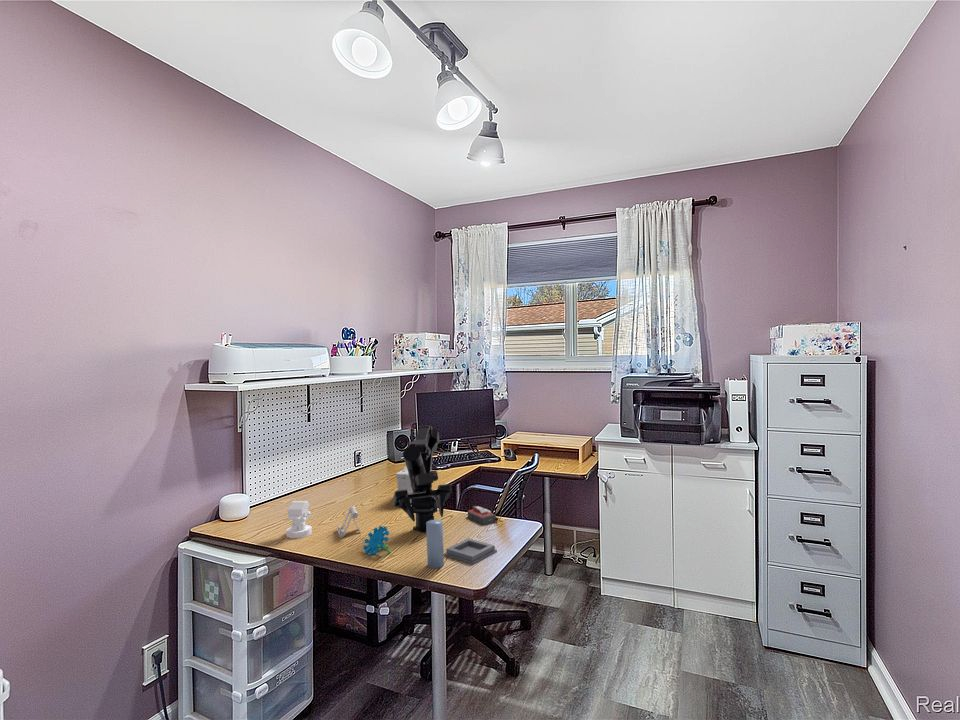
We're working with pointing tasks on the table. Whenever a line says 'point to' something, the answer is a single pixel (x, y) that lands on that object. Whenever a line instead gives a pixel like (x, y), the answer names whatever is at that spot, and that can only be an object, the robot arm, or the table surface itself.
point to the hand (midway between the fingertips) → (428, 518)
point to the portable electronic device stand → (353, 515)
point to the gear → (377, 541)
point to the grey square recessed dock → (470, 551)
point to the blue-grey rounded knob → (435, 544)
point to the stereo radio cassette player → (404, 481)
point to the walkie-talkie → (481, 515)
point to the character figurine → (298, 519)
